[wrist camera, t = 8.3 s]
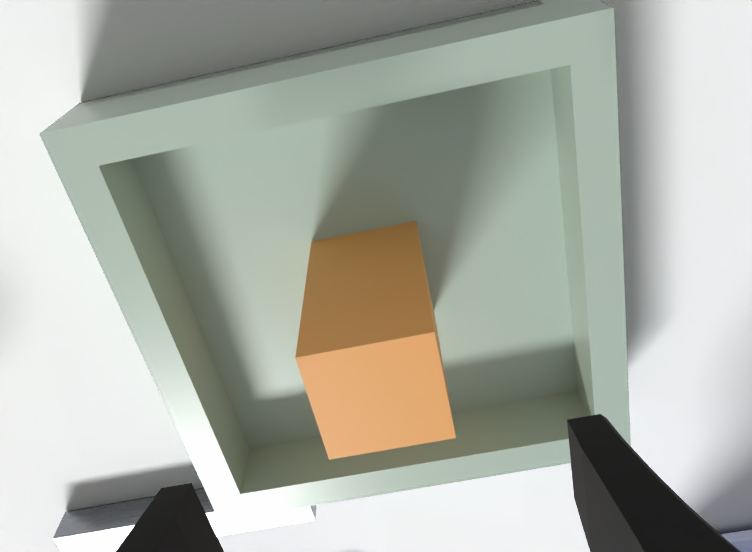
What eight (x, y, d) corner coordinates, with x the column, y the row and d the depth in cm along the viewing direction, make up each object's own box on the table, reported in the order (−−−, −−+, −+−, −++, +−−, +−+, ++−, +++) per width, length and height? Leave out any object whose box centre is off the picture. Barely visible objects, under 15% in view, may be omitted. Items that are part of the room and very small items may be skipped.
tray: (580, -9, 17) (614, 7, 15) (604, 397, 23) (630, 453, 21) (79, 102, 18) (39, 133, 16) (232, 461, 24) (219, 521, 22)
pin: (415, 220, 19) (434, 331, 14) (433, 310, 21) (456, 437, 16) (311, 241, 19) (294, 357, 15) (336, 328, 21) (328, 459, 16)
